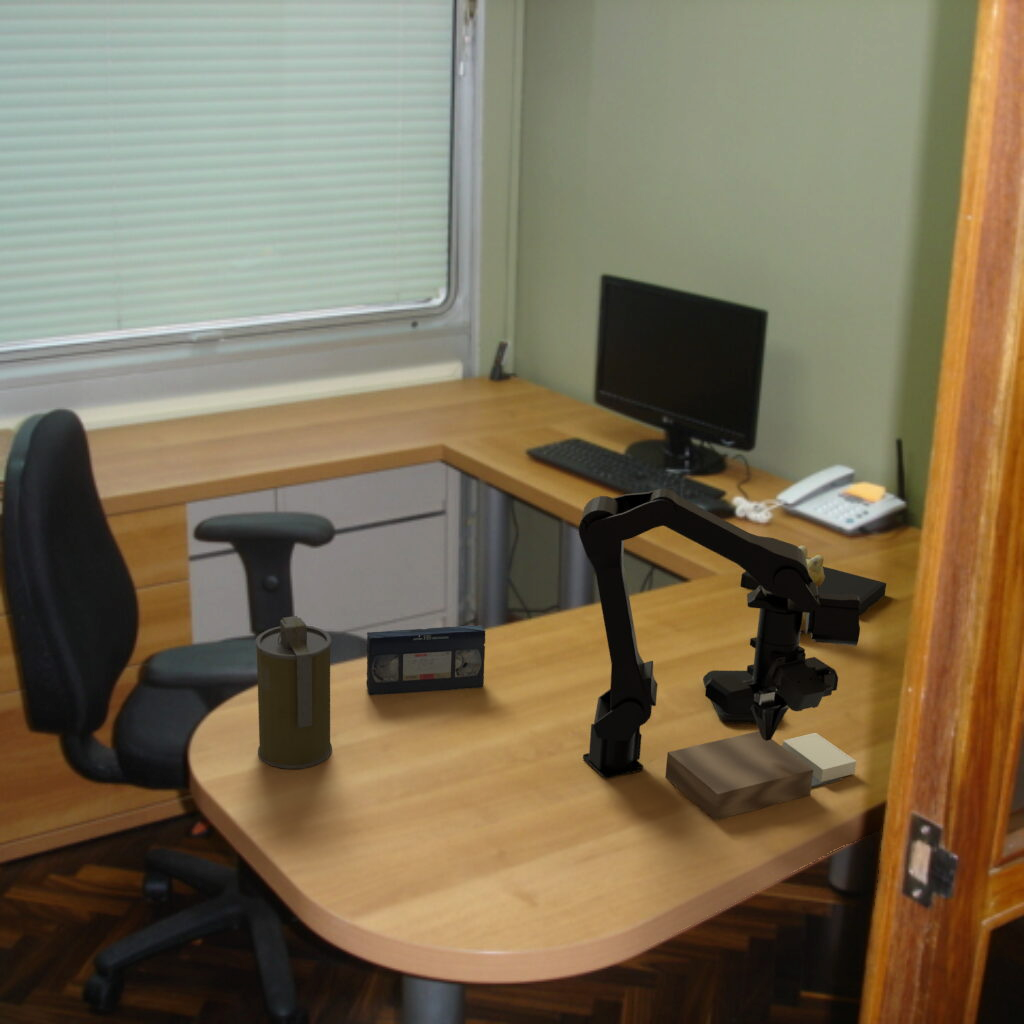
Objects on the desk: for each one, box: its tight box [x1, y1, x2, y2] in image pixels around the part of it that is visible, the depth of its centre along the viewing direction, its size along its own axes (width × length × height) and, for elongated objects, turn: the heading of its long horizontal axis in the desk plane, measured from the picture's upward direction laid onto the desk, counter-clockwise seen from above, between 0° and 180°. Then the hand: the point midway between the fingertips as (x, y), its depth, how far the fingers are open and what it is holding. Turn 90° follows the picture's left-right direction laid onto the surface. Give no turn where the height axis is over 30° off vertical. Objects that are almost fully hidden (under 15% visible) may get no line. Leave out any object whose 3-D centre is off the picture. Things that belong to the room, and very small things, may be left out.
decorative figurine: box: [797, 545, 825, 634], centre depth 240 cm, size 10×8×15 cm
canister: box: [254, 615, 333, 770], centre depth 192 cm, size 11×10×20 cm
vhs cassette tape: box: [365, 624, 486, 696], centre depth 214 cm, size 18×3×10 cm, turn 102°
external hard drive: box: [740, 565, 887, 617], centre depth 260 cm, size 14×23×3 cm, turn 55°
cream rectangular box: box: [781, 732, 857, 782], centre depth 198 cm, size 6×9×2 cm, turn 27°
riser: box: [665, 730, 813, 821], centre depth 191 cm, size 16×12×4 cm
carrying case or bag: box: [702, 669, 757, 724], centre depth 215 cm, size 11×3×15 cm
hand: (766, 739), depth 191 cm, fingers closed
